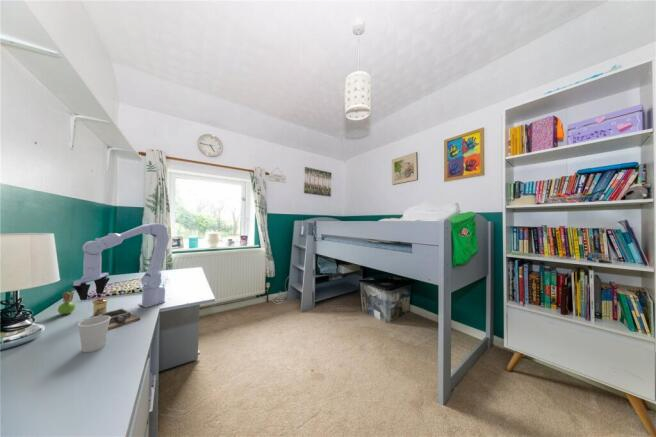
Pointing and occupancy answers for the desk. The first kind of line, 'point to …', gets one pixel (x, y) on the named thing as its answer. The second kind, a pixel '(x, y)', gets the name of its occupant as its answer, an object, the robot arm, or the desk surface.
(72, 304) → the snail figurine
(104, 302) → the cylinder
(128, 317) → the board
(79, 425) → the desk surface
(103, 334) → the dixie cup
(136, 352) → the desk surface
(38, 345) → the desk surface
